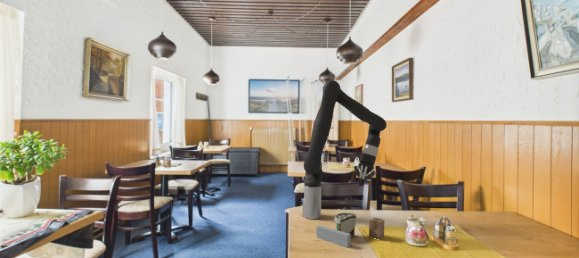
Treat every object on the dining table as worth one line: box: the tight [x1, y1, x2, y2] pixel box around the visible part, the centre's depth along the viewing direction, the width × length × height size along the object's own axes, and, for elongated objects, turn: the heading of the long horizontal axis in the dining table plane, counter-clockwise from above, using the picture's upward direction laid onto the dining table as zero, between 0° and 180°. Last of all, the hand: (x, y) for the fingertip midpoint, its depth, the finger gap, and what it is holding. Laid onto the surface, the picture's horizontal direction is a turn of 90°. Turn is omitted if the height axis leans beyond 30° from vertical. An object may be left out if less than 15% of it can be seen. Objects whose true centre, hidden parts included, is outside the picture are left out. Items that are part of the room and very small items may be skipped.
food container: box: [334, 212, 357, 239], centre depth 135 cm, size 12×6×10 cm, turn 132°
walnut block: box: [368, 217, 385, 241], centre depth 135 cm, size 5×5×8 cm
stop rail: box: [316, 224, 351, 248], centre depth 130 cm, size 16×2×5 cm, turn 48°
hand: (360, 186), depth 156 cm, fingers closed
